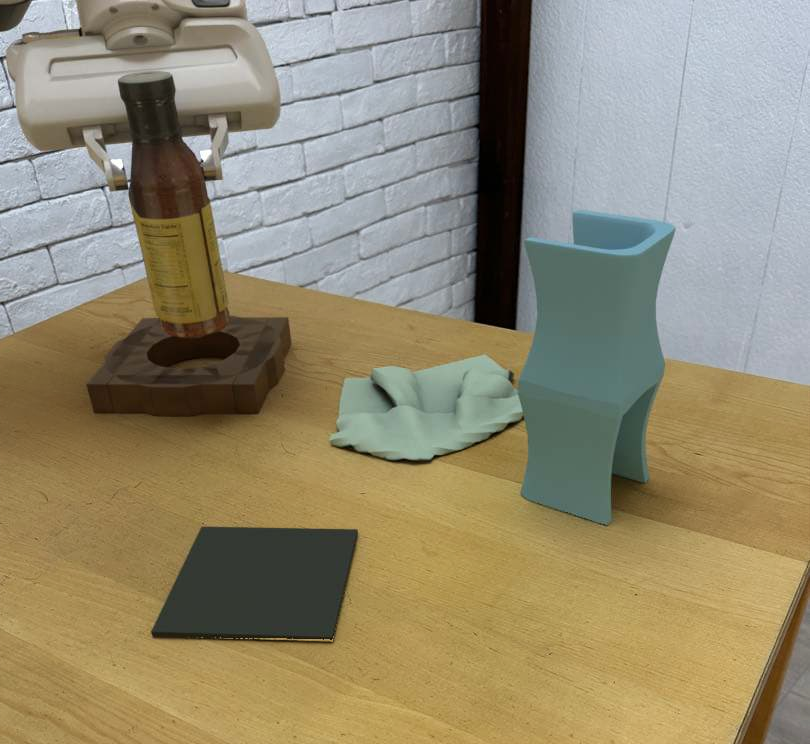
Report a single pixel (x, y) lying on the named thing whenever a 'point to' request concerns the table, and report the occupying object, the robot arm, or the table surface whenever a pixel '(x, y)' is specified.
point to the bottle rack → (192, 369)
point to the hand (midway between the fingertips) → (166, 181)
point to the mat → (259, 584)
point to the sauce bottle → (172, 212)
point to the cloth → (426, 409)
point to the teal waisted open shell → (592, 360)
